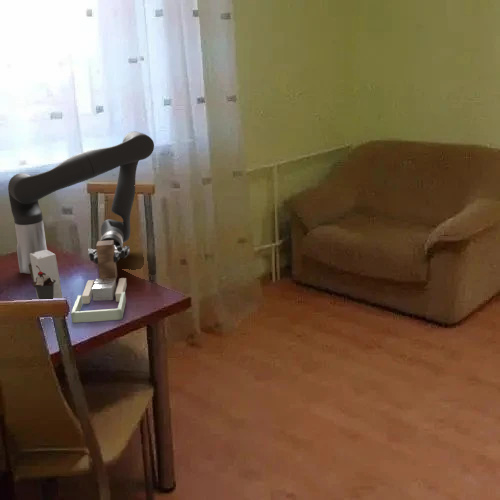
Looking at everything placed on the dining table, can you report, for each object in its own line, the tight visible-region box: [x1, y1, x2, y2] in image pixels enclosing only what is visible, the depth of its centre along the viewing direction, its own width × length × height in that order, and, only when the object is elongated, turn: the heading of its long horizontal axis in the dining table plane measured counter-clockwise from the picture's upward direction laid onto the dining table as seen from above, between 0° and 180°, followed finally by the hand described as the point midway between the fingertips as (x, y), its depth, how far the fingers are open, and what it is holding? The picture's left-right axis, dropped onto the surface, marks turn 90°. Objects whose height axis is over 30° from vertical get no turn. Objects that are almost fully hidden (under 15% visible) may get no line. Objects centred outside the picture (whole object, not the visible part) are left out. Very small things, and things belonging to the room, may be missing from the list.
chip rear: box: [94, 278, 117, 293], centre depth 238 cm, size 6×4×4 cm, turn 91°
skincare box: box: [30, 249, 64, 300], centre depth 232 cm, size 8×6×15 cm
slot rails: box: [81, 277, 128, 305], centre depth 236 cm, size 12×14×2 cm
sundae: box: [31, 265, 56, 300], centre depth 220 cm, size 7×7×15 cm
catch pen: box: [70, 291, 127, 324], centre depth 222 cm, size 14×14×3 cm
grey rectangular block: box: [92, 283, 116, 302], centre depth 233 cm, size 6×4×4 cm, turn 89°
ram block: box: [95, 240, 118, 280], centre depth 245 cm, size 5×5×12 cm
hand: (105, 260), depth 242 cm, fingers closed on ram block, 5 cm apart
